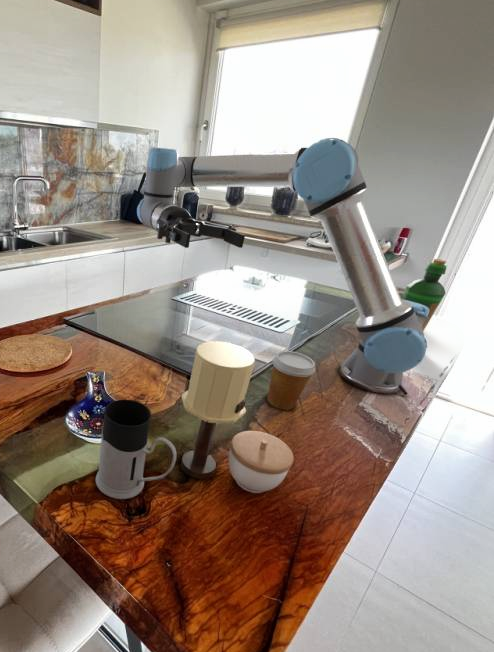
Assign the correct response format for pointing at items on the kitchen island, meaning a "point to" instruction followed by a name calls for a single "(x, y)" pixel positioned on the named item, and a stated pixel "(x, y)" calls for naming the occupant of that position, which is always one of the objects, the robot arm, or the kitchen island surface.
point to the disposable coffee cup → (289, 378)
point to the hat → (219, 382)
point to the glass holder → (126, 449)
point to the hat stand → (200, 454)
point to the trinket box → (259, 461)
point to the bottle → (428, 288)
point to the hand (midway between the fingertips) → (216, 241)
